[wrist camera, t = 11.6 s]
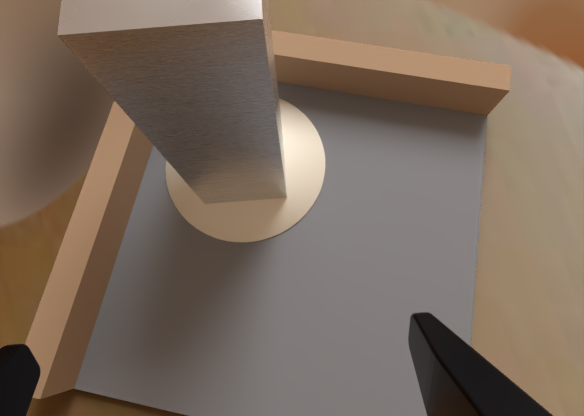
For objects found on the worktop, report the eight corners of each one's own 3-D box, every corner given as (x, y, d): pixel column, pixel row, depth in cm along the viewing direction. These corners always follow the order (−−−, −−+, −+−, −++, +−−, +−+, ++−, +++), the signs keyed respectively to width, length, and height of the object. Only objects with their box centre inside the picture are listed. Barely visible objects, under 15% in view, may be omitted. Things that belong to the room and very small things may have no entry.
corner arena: (456, 475, 18) (486, 507, 15) (51, 380, 19) (7, 391, 16) (484, 97, 23) (511, 65, 20) (165, 47, 24) (147, 11, 22)
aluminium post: (287, 197, 21) (262, 18, 8) (204, 203, 21) (57, 35, 8) (281, 123, 22) (254, -130, 10) (204, 129, 22) (74, -115, 10)
